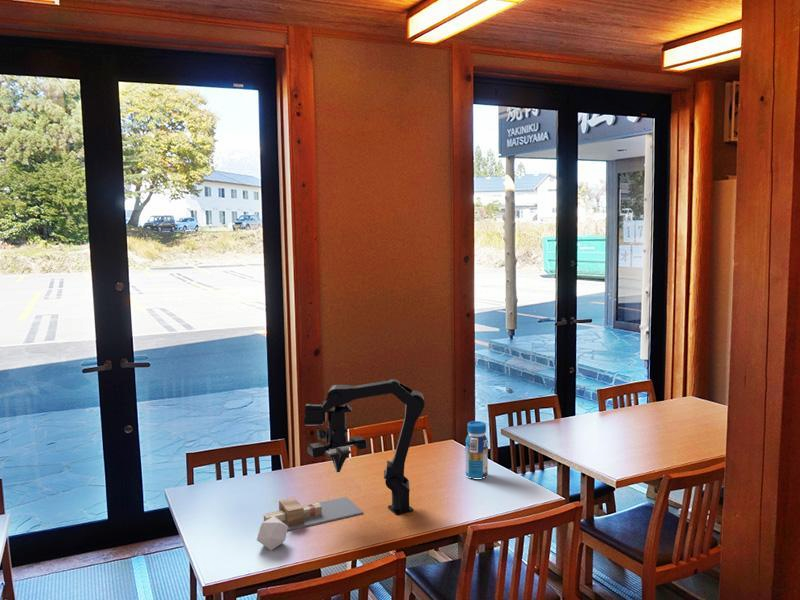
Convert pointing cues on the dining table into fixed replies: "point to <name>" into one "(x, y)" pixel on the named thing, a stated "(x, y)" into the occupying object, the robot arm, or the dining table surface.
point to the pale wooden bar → (308, 512)
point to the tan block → (292, 511)
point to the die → (272, 533)
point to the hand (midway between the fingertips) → (338, 471)
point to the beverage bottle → (476, 450)
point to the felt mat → (330, 512)
